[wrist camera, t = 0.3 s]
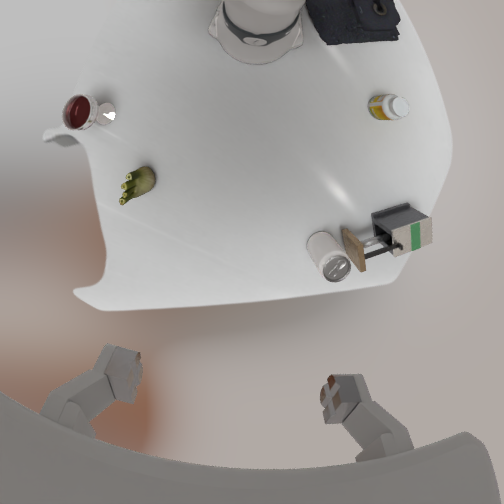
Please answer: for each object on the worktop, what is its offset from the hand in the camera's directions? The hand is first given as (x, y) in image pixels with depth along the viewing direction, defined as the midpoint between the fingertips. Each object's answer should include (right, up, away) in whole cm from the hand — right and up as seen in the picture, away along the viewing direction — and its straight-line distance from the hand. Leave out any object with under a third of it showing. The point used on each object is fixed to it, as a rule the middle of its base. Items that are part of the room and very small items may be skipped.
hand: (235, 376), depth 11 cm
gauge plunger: (+25, +9, +47) cm, 54 cm away
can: (+16, +7, +50) cm, 53 cm away
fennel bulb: (-21, +20, +42) cm, 51 cm away
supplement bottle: (+28, +36, +38) cm, 59 cm away
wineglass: (-30, +34, +35) cm, 57 cm away
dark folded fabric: (+23, +57, +28) cm, 68 cm away
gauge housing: (+34, +12, +49) cm, 61 cm away
